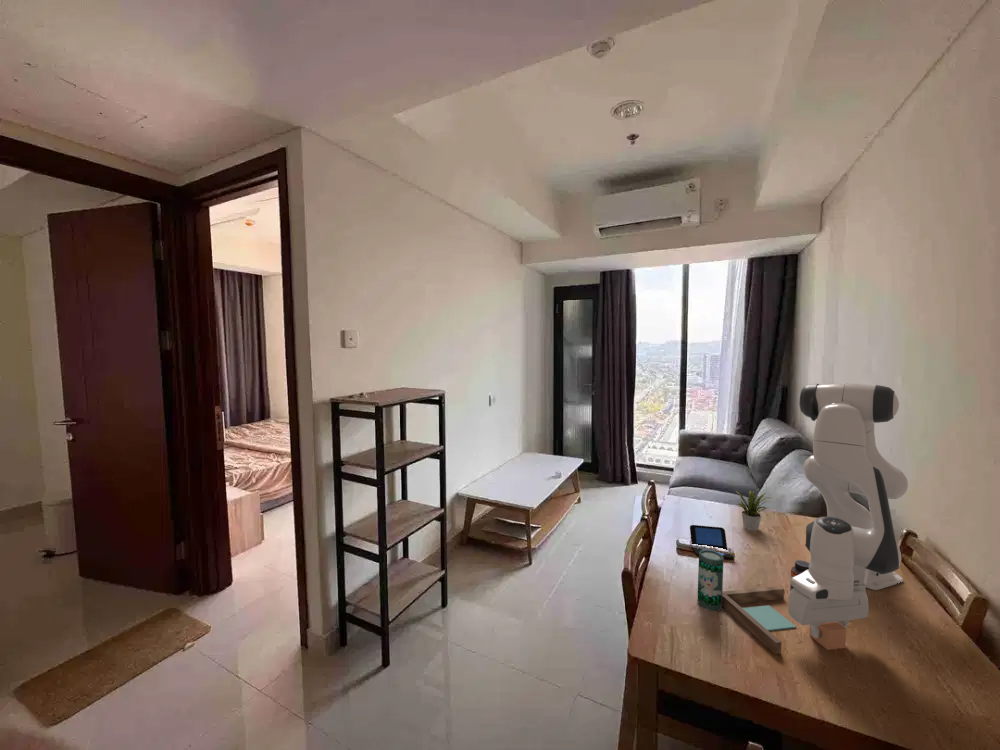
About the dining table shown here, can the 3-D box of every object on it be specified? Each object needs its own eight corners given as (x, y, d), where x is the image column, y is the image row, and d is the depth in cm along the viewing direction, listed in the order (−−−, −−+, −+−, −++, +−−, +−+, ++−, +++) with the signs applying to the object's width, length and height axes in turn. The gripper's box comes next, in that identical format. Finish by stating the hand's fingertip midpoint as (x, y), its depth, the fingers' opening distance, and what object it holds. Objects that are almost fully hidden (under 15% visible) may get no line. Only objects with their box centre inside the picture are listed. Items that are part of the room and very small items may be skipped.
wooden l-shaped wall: (779, 595, 121) (780, 586, 121) (848, 645, 101) (848, 634, 100) (717, 601, 118) (718, 591, 118) (775, 654, 98) (776, 642, 97)
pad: (769, 606, 116) (769, 605, 116) (796, 627, 107) (796, 626, 107) (741, 609, 114) (741, 608, 114) (766, 631, 106) (766, 629, 106)
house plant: (782, 537, 158) (784, 497, 157) (747, 537, 159) (749, 497, 158) (759, 522, 173) (761, 485, 172) (727, 521, 173) (729, 485, 172)
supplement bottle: (809, 595, 121) (811, 560, 120) (818, 607, 115) (820, 570, 115) (786, 592, 123) (788, 556, 122) (793, 603, 117) (795, 566, 116)
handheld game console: (696, 557, 144) (697, 537, 144) (688, 542, 155) (689, 524, 154) (734, 560, 142) (735, 540, 141) (723, 546, 152) (724, 527, 152)
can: (695, 605, 116) (697, 555, 116) (700, 595, 121) (702, 547, 120) (718, 613, 113) (720, 562, 112) (723, 603, 117) (725, 554, 116)
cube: (826, 633, 105) (827, 615, 104) (845, 647, 100) (846, 628, 100) (809, 635, 104) (810, 617, 104) (827, 650, 99) (829, 630, 99)
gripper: (852, 573, 106) (849, 622, 106) (784, 579, 103) (782, 630, 104) (878, 587, 99) (875, 639, 100) (806, 594, 96) (803, 648, 97)
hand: (827, 635), depth 102 cm, fingers closed on cube, 5 cm apart
